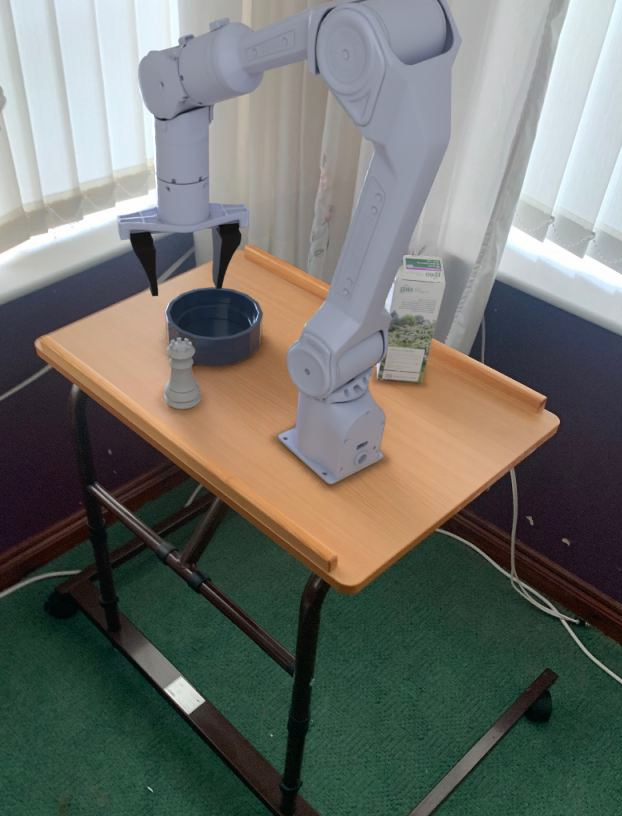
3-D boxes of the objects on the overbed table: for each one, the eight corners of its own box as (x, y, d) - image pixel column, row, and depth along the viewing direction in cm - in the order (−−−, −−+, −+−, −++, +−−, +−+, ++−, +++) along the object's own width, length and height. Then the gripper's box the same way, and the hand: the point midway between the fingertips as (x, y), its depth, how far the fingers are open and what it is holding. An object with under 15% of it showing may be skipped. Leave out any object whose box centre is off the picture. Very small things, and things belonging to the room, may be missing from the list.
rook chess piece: (183, 384, 97) (181, 328, 92) (208, 400, 95) (208, 344, 90) (156, 399, 95) (152, 343, 89) (181, 416, 93) (179, 360, 87)
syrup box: (419, 358, 102) (442, 253, 92) (422, 385, 98) (447, 280, 88) (375, 354, 103) (393, 250, 92) (376, 382, 99) (395, 276, 88)
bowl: (279, 349, 103) (281, 319, 100) (200, 381, 98) (200, 350, 95) (225, 307, 110) (226, 278, 107) (149, 334, 105) (147, 304, 101)
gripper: (239, 153, 88) (236, 265, 98) (108, 163, 86) (119, 277, 95) (255, 179, 84) (251, 294, 93) (118, 191, 81) (128, 308, 91)
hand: (185, 288), depth 94 cm, fingers open, 7 cm apart
